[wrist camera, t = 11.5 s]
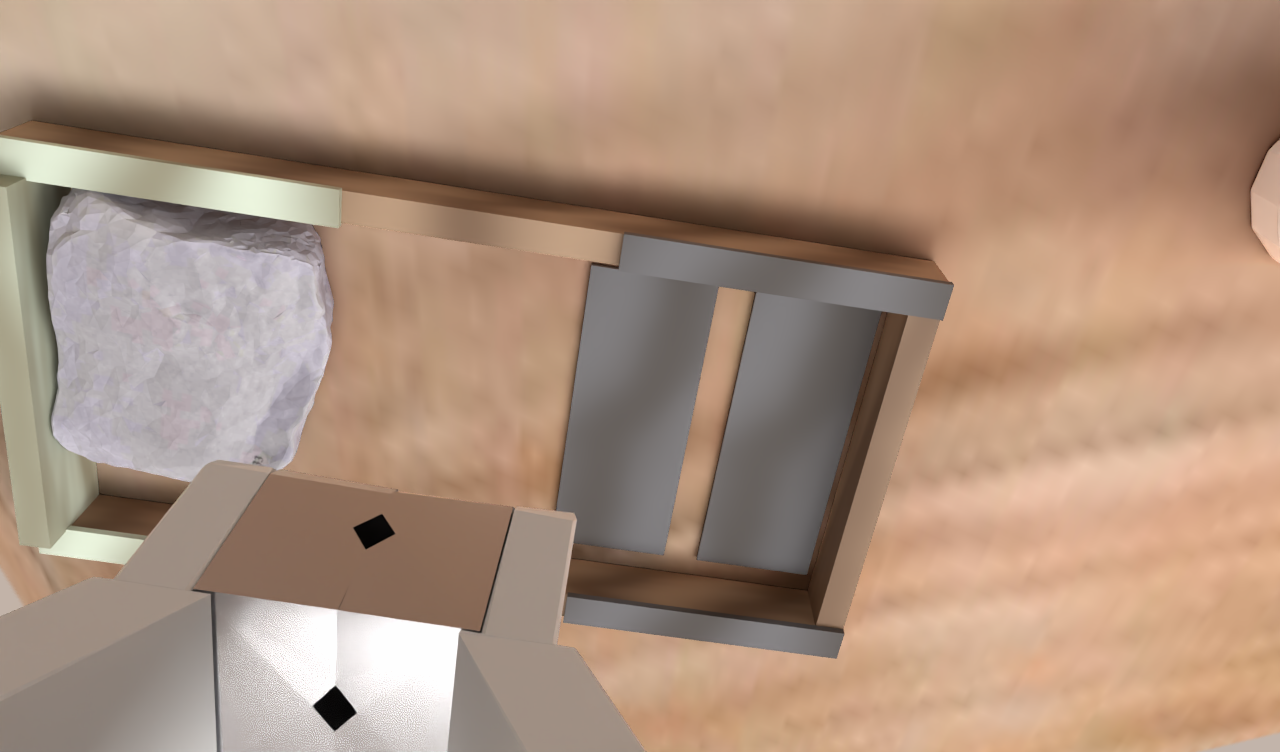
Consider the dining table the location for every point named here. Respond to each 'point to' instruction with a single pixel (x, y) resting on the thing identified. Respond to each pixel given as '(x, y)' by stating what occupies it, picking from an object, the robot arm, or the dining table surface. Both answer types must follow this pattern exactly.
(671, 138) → the dining table surface
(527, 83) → the dining table surface
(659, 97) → the dining table surface
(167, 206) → the stone block
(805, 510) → the box
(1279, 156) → the white cup
